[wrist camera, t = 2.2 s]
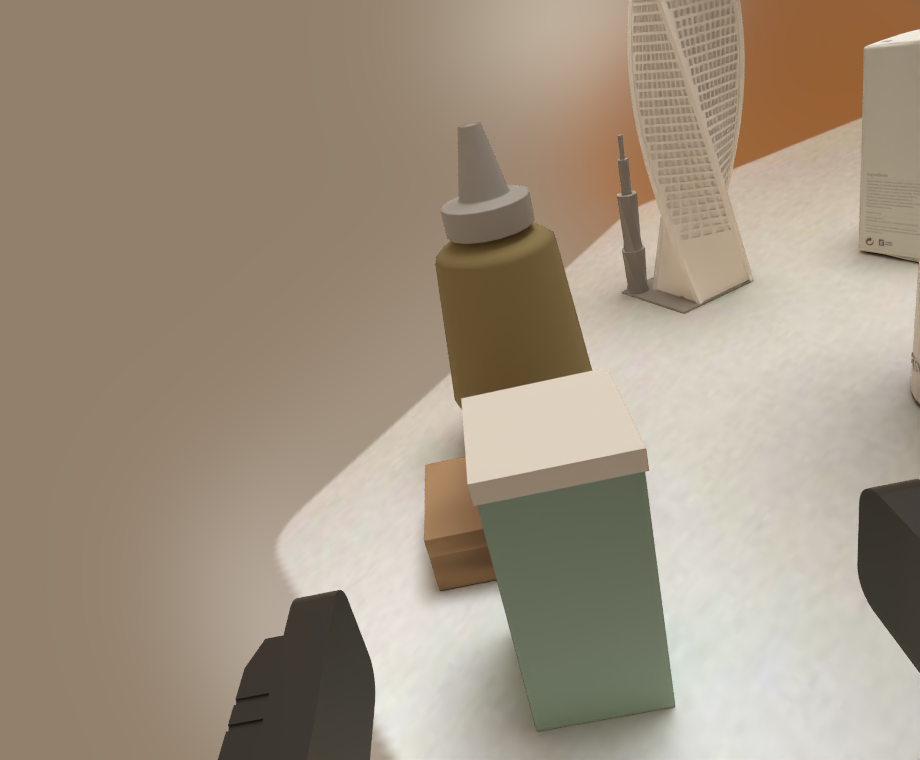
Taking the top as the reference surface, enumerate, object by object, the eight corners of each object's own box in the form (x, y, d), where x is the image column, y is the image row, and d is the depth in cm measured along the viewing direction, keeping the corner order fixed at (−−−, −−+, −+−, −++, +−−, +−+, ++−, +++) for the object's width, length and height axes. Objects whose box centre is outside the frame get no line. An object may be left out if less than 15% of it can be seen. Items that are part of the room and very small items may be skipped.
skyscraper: (700, 261, 62) (671, -127, 49) (779, 280, 55) (769, -164, 43) (622, 296, 59) (570, -106, 46) (695, 320, 52) (658, -142, 40)
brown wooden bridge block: (586, 480, 38) (578, 433, 37) (611, 557, 33) (603, 504, 32) (439, 510, 39) (425, 464, 37) (440, 590, 34) (424, 540, 32)
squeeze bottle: (441, 460, 43) (355, 155, 35) (510, 391, 49) (449, 114, 40) (562, 485, 38) (494, 140, 30) (623, 406, 44) (580, 95, 36)
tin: (641, 601, 30) (607, 367, 25) (678, 708, 26) (646, 447, 21) (519, 624, 31) (461, 398, 26) (534, 734, 26) (467, 484, 21)
